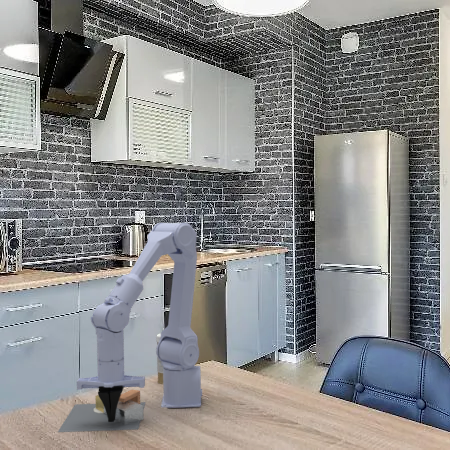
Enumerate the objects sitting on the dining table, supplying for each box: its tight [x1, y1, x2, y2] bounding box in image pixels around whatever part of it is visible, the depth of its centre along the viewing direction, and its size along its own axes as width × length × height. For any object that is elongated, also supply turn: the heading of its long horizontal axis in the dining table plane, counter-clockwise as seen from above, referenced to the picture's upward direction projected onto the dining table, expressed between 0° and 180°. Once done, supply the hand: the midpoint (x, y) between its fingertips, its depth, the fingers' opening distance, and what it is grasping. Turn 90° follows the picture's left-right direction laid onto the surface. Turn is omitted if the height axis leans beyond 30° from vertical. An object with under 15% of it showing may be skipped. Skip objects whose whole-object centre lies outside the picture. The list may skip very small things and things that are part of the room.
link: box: [95, 394, 145, 425], centre depth 127 cm, size 13×5×3 cm, turn 41°
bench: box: [57, 401, 146, 433], centre depth 126 cm, size 17×17×3 cm
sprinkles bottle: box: [155, 332, 163, 385], centre depth 151 cm, size 5×5×13 cm
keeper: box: [119, 389, 141, 404], centre depth 128 cm, size 6×2×5 cm, turn 153°
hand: (111, 420), depth 121 cm, fingers closed
